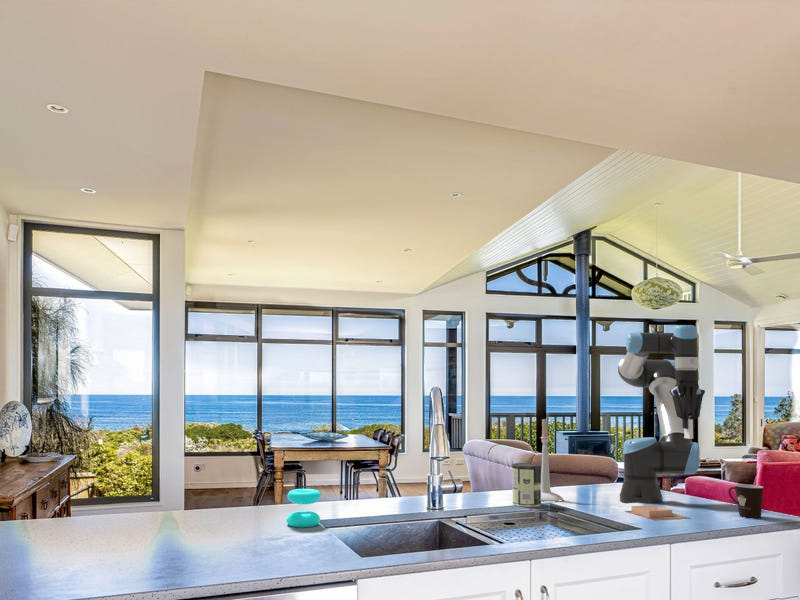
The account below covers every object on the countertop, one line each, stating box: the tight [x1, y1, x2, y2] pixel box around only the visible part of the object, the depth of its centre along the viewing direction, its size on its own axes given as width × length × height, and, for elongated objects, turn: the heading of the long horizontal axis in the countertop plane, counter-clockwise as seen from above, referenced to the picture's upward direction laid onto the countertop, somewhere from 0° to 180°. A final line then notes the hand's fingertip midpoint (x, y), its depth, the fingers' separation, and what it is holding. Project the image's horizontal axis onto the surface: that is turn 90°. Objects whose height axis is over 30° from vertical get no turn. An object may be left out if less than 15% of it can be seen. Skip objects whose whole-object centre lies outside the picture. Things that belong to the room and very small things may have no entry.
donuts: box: [286, 488, 322, 528], centre depth 207 cm, size 10×10×10 cm
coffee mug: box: [728, 483, 764, 520], centre depth 231 cm, size 12×9×10 cm
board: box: [623, 510, 692, 522], centre depth 226 cm, size 16×14×1 cm
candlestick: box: [539, 418, 564, 501], centre depth 260 cm, size 13×13×30 cm
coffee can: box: [511, 462, 542, 508], centre depth 246 cm, size 10×10×14 cm
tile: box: [631, 504, 673, 518], centre depth 227 cm, size 9×2×9 cm
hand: (688, 438), depth 237 cm, fingers closed
